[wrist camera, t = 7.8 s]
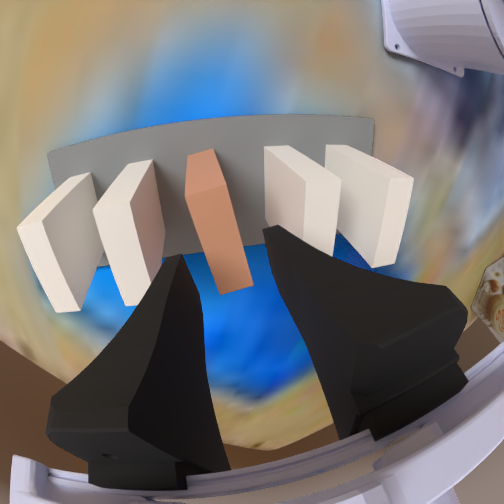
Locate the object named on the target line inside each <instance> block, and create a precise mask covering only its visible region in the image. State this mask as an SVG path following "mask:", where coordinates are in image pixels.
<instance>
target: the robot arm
mask: <svg viewBox="0 0 504 504" xmlns="http://www.w3.org/2000/svg"><path fill="white" fill-rule="evenodd" d="M381 5H382V16H383V31H384V46H385V48H386V49H387V50H388V51H389V52H393V53H396V54H399V55H403V56H406V57H409V58H412V59H415V60H418V61H421V62H423V63H426V64H429V65H432V66H434V67H437V68H439V69H442V70H444V71H447V72H449V73H451V74H454V75H456V76H458V77H463V76H464V68H468V69H475V70H480V71H486V72H491V73H496V74H500V75H504V0H381ZM395 45H396V46H397V50H396V48H395ZM262 231H263V235H264V240H265V244H266V248H267V253H268V257H269V262H270V266H271V271H272V274H273V277H274V279H275V282H276V285H277V287H278V290H279V293H280V295H281V297H282V299H283V301H284V303H285V305H286V306H287V308H288V310H289V312H290V314H291V316H292V318H293V320H294V322H295V324H296V326H297V328H298V330H299V332H300V333H301V335H302V337H303V340H304V342H305V344H306V346H307V349H308V351H309V354H310V356H311V359H312V362H313V364H314V367H315V370H316V372H317V375H318V378H319V381H320V383H321V386H322V389H323V392H324V394H325V397H326V400H327V403H328V406H329V409H330V412H331V415H332V418H333V421H334V424H335V427H336V430H337V433H338V436H339V439H340V441H337V442H335V443H332V444H329V445H327V446H324V447H321V448H318V449H315V450H312V451H309V452H306V453H302V454H299V455H296V456H292V457H289V458H285V459H281V460H278V461H274V462H270V463H265V464H261V465H256V466H252V467H247V468H242V469H237V470H231V468H230V465H229V462H228V459H227V456H226V453H225V450H224V446H223V443H222V439H221V436H220V432H219V428H218V424H217V420H216V416H215V412H214V408H213V403H212V399H211V394H210V389H209V384H208V379H207V372H206V362H205V344H204V324H203V312H202V306H201V300H200V295H199V292H198V290H197V287H196V285H195V283H194V281H193V278H192V276H191V274H190V272H189V269H188V267H187V265H186V263H185V260H184V258H183V256H182V253H181V254H177V255H174V256H171V257H168V258H166V259H165V261H164V262H163V264H162V266H161V267H160V269H159V271H158V273H157V274H156V276H155V278H154V279H153V281H152V283H151V284H150V286H149V288H148V290H147V291H146V293H145V294H144V296H143V298H142V299H141V301H140V302H139V304H138V305H137V307H136V308H135V310H134V312H133V313H132V315H131V316H130V317H129V319H128V320H127V322H126V323H125V324H124V325H123V327H122V328H121V329H120V331H119V332H118V333H117V335H116V336H115V337H114V338H113V339H112V340H111V342H110V343H109V344H108V345H107V346H106V347H105V348H104V349H103V351H102V352H101V353H100V354H99V355H98V356H97V357H96V358H95V359H94V360H93V361H92V362H91V363H90V364H89V365H88V366H87V367H86V368H85V369H84V370H83V371H82V372H81V373H80V374H79V375H78V376H76V377H75V378H74V379H73V380H72V381H71V382H69V383H68V384H67V385H66V386H64V387H63V388H62V389H61V390H60V391H58V392H57V393H56V394H55V395H53V396H52V398H51V403H50V408H49V414H48V420H47V427H46V435H47V436H48V438H49V439H50V440H51V441H52V442H53V443H54V444H56V445H57V446H58V447H60V448H62V449H64V450H65V451H67V452H69V453H71V454H73V455H75V456H77V457H79V458H81V459H83V460H85V461H87V462H89V464H88V474H81V473H74V472H67V471H62V470H57V469H51V468H47V467H46V466H45V465H43V464H41V463H39V462H36V461H34V460H32V459H29V458H25V457H21V456H18V455H13V461H12V470H11V485H10V504H185V503H181V502H161V501H155V500H153V499H192V498H206V497H216V496H224V495H232V494H239V493H244V492H250V491H256V490H261V489H265V488H270V487H275V486H279V485H283V484H287V483H291V482H295V481H298V480H301V479H305V478H308V477H311V476H315V475H318V474H321V473H324V472H327V471H329V470H333V469H335V468H338V467H340V466H343V465H346V464H348V463H351V462H353V461H356V460H358V459H360V458H363V457H365V456H367V455H370V454H372V453H374V452H376V451H378V450H380V449H383V448H385V447H386V446H389V445H390V444H393V443H395V442H396V441H398V440H400V439H402V438H404V437H406V436H408V435H409V434H411V433H413V432H414V433H413V434H411V435H410V436H408V437H407V438H405V439H404V440H402V441H400V442H399V443H397V444H395V445H394V446H392V447H390V448H389V449H387V450H385V452H384V455H383V456H382V457H381V458H379V459H378V460H377V461H375V462H374V463H373V468H374V470H375V471H374V472H372V473H369V474H367V475H365V476H362V477H359V478H357V479H354V480H352V481H349V482H346V483H344V484H341V485H338V486H335V487H332V488H330V489H326V490H323V491H320V492H317V493H313V494H310V495H306V496H303V497H299V498H295V499H291V500H287V501H283V502H278V503H274V504H460V502H459V500H458V498H457V495H456V493H455V491H454V489H453V486H454V485H455V484H457V483H458V482H459V481H460V480H462V479H463V478H464V477H465V476H466V475H467V474H468V473H470V472H471V471H472V470H473V469H474V468H475V467H476V466H477V465H479V464H480V463H481V462H482V461H483V460H484V459H485V458H486V457H487V456H488V455H489V454H490V453H491V452H492V451H493V450H494V449H495V448H496V447H497V446H498V445H499V444H500V443H501V441H502V440H503V439H504V341H503V342H502V343H501V344H500V345H499V346H497V348H495V349H494V350H493V351H492V352H490V353H489V354H488V355H487V356H486V357H484V358H483V359H482V360H481V361H480V362H478V363H477V364H476V365H474V366H473V367H472V368H471V369H469V370H468V371H466V372H465V373H463V372H462V370H461V368H460V367H459V366H458V364H457V363H456V362H458V360H459V355H458V354H457V353H456V351H455V350H454V347H455V345H456V343H457V341H458V339H459V338H460V336H461V334H462V332H463V330H464V328H465V325H466V323H467V316H468V311H467V309H466V307H465V306H464V305H463V303H462V302H461V301H460V300H459V299H458V298H457V297H456V296H455V295H454V294H453V293H452V292H451V290H450V289H449V288H447V287H446V286H442V285H434V284H426V283H418V282H412V281H407V280H402V279H397V278H393V277H389V276H385V275H381V274H378V273H375V272H371V271H368V270H365V269H362V268H359V267H356V266H354V265H351V264H349V263H346V262H344V261H341V260H339V259H337V258H334V257H332V256H330V255H328V254H326V253H324V252H322V251H320V250H318V249H317V248H315V247H313V246H311V245H310V244H308V243H306V242H305V241H303V240H301V239H300V238H298V237H297V236H295V235H293V234H292V233H290V232H289V231H287V230H286V229H284V228H283V227H281V226H280V225H275V226H271V227H268V228H264V229H262ZM418 429H419V430H418ZM416 430H417V431H416ZM415 431H416V432H415Z"/></svg>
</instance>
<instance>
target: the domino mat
mask: <svg viewBox="0 0 504 504" xmlns="http://www.w3.org/2000/svg"><path fill="white" fill-rule="evenodd" d="M373 131H374V119H371V118H362V117H350V116H335V115H311V114H270V115H246V116H231V117H218V118H208V119H199V120H191V121H183V122H176V123H169V124H163V125H157V126H151V127H145V128H140V129H135V130H130V131H125V132H121V133H116V134H112V135H108V136H104V137H100V138H96V139H92V140H88V141H85V142H81V143H77V144H74V145H71V146H67V147H64V148H61V149H58V150H55V151H52V152H49V153H47V157H48V162H49V166H50V171H51V175H52V179H53V183H54V187H55V190H56V189H57V188H58V187H59V186H60V185H62V184H63V183H64V182H65V181H66V180H67V179H69V178H70V177H73V176H77V175H81V174H85V173H89V172H91V176H92V180H93V184H94V189H95V193H96V197H97V201H99V200H100V199H101V197H102V196H103V195H104V193H105V192H106V191H107V189H108V188H109V187H110V185H111V184H112V183H113V182H114V180H115V179H116V178H117V177H118V175H119V174H120V173H121V172H122V171H123V169H124V168H125V167H126V166H127V165H128V164H130V163H135V162H141V161H146V160H152V159H153V163H154V170H155V176H156V182H157V188H158V194H159V200H160V205H161V211H162V216H163V221H164V226H165V231H166V232H165V239H164V247H163V254H162V258H163V257H170V256H174V255H177V254H181V253H182V255H185V254H192V253H199V252H204V250H203V248H202V245H201V242H200V239H199V236H198V234H197V231H196V228H195V225H194V222H193V219H192V217H191V214H190V211H189V208H188V205H187V202H186V199H185V183H186V169H187V156H189V155H192V154H195V153H199V152H202V151H206V150H209V149H214V152H215V155H216V157H217V160H218V163H219V166H220V168H221V171H222V174H223V176H224V179H225V182H226V185H227V188H228V192H229V196H230V200H231V203H232V207H233V211H234V215H235V218H236V222H237V226H238V230H239V233H240V237H241V241H242V244H243V246H251V245H258V244H265V240H264V235H263V231H262V229H264V228H268V227H270V226H269V225H268V223H267V221H266V219H265V176H264V147H266V146H287V145H289V146H290V147H292V148H294V149H295V150H297V151H299V152H300V153H302V154H303V155H305V156H307V157H308V158H310V159H311V160H313V161H315V162H316V163H318V164H319V165H321V166H322V167H324V168H325V152H326V145H348V146H350V147H352V148H354V149H357V150H359V151H361V152H363V153H365V154H367V155H370V156H371V155H372V144H373ZM336 234H341V233H340V232H339V230H338V229H337V228H336ZM107 265H110V264H109V261H108V258H107V255H106V252H105V250H104V252H103V254H102V257H101V259H100V261H99V264H98V266H97V267H100V266H107Z"/></svg>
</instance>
